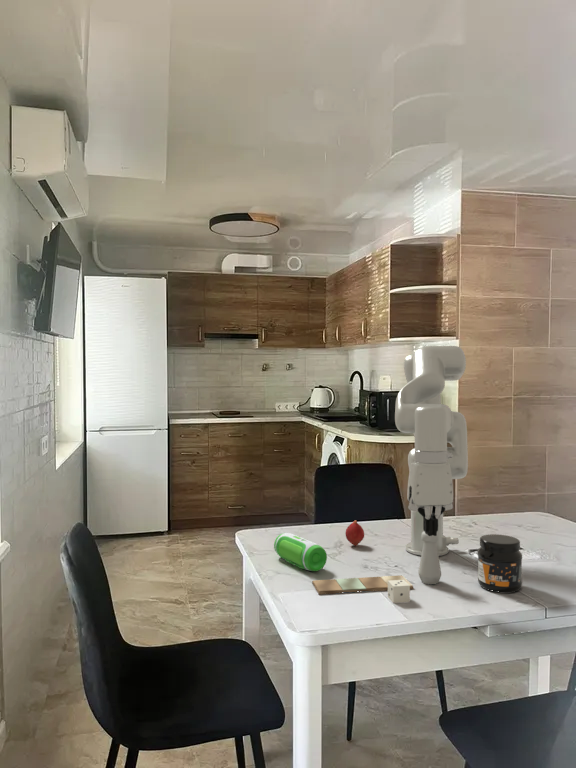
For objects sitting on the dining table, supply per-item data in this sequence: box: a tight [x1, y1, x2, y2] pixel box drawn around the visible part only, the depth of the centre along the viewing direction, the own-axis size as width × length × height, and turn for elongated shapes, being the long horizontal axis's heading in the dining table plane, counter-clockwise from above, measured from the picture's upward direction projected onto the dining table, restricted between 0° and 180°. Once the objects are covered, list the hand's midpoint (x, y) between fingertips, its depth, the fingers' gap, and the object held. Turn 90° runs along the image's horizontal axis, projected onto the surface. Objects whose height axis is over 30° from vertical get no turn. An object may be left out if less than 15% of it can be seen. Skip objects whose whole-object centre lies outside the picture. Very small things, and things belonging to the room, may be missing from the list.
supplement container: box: [477, 533, 523, 593], centre depth 148 cm, size 10×10×12 cm
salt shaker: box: [417, 531, 442, 585], centre depth 151 cm, size 6×6×13 cm
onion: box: [344, 520, 365, 547], centre depth 184 cm, size 6×6×8 cm
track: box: [311, 575, 414, 596], centre depth 149 cm, size 24×8×1 cm, turn 99°
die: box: [387, 580, 411, 604], centre depth 140 cm, size 4×4×4 cm
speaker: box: [273, 532, 328, 572], centre depth 166 cm, size 18×7×8 cm, turn 33°
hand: (430, 534), depth 141 cm, fingers closed
